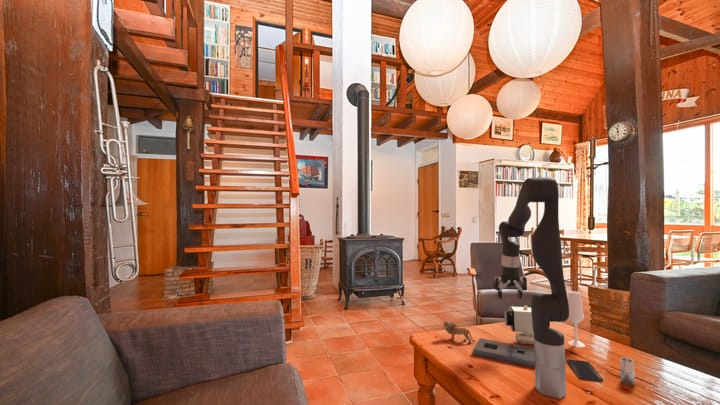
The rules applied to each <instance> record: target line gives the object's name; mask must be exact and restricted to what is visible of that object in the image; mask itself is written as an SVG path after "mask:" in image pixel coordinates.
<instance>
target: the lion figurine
mask: <svg viewBox="0 0 720 405" xmlns="http://www.w3.org/2000/svg"><path fill="white" fill-rule="evenodd" d="M442 327H443V329H444V331H446V332H447V334H449V335H451V337H450V341H452V342H454V341H455V336H461V335H463V337H465V338H464V339H463V341H465V342H466V341H467V340H468V342H467V344H468V345H470V344H472V343H473V342H474V343H475V342H476V341H475V339H473V337H472V334H471V331H470V330H469V329H468V327H460V326H457V325H456V324H455V323H453V322H452V321H449V320H445V321H443V326H442Z"/></svg>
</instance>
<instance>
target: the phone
mask: <svg viewBox="0 0 720 405" xmlns="http://www.w3.org/2000/svg"><path fill="white" fill-rule="evenodd" d="M566 362H567V364H568V366H569V367H570V368H571V370H572V371H573V373H574V374H575V375H576V377H577V378H578V379H579V380H584V381H590V382H591V381H592V382H599V383H603V382H604V378H603V377H602V376H601V375H600V374H599V373H598V371H597V370H596V369H595V368H594V366H593V365H591V363H590V362H589V361H586V360H576V359H566Z"/></svg>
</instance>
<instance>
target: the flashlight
mask: <svg viewBox="0 0 720 405" xmlns="http://www.w3.org/2000/svg"><path fill="white" fill-rule="evenodd" d="M619 370H620V382H621V383H623V384H625V385H629V386H635V385H636V372H635V360H633V359H631V358H630V357H619Z"/></svg>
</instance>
